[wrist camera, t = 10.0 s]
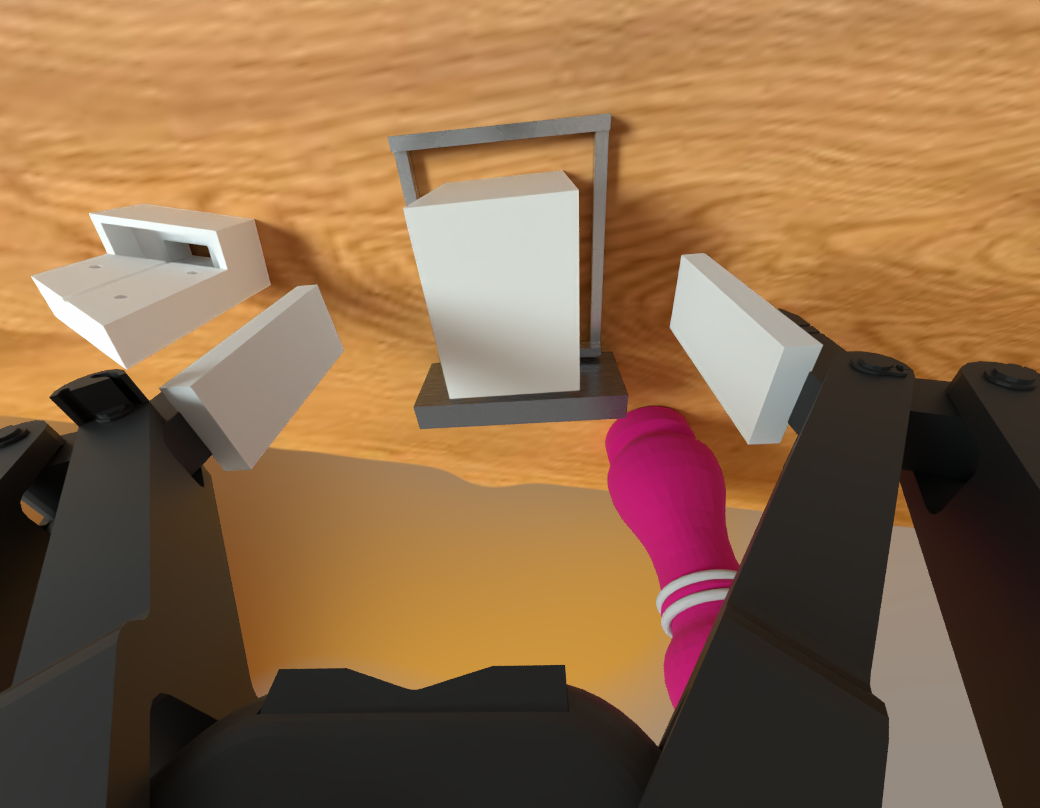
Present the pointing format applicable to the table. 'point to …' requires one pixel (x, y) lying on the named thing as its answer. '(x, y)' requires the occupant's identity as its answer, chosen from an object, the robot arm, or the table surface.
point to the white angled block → (155, 278)
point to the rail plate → (597, 370)
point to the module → (502, 282)
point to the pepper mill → (674, 526)
